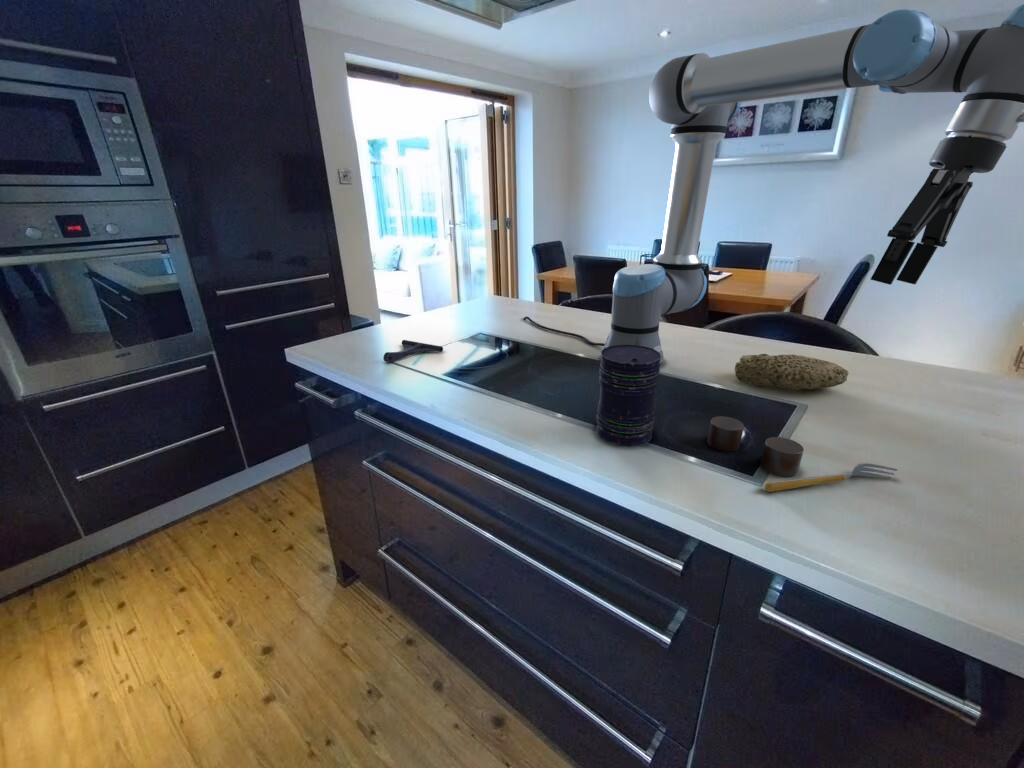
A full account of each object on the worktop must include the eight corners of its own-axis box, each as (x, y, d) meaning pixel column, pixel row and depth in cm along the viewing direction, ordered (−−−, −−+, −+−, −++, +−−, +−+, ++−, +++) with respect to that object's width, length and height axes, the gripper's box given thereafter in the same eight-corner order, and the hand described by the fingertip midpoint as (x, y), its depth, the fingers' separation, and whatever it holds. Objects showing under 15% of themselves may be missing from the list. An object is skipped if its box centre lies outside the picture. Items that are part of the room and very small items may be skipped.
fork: (772, 487, 60) (899, 468, 63) (764, 477, 62) (888, 459, 64) (766, 499, 62) (890, 480, 64) (758, 488, 63) (880, 470, 66)
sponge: (732, 391, 97) (845, 395, 84) (732, 356, 96) (846, 354, 83) (745, 383, 107) (849, 385, 94) (745, 351, 106) (849, 348, 93)
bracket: (366, 359, 119) (365, 349, 118) (405, 344, 130) (404, 335, 129) (406, 368, 112) (404, 358, 111) (443, 351, 123) (442, 342, 122)
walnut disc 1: (701, 442, 75) (704, 421, 73) (717, 433, 78) (721, 413, 76) (729, 455, 71) (733, 433, 70) (745, 445, 74) (749, 424, 72)
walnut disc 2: (754, 466, 68) (759, 443, 67) (770, 455, 71) (775, 433, 69) (788, 481, 64) (794, 457, 63) (803, 469, 67) (809, 446, 65)
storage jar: (592, 419, 83) (596, 344, 78) (644, 419, 83) (652, 344, 77) (600, 447, 74) (605, 364, 68) (659, 446, 74) (669, 363, 68)
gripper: (993, 123, 54) (897, 289, 64) (1021, 156, 69) (939, 288, 78) (920, 120, 60) (841, 274, 69) (961, 151, 74) (891, 276, 83)
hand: (893, 282), depth 74 cm, fingers open, 13 cm apart
